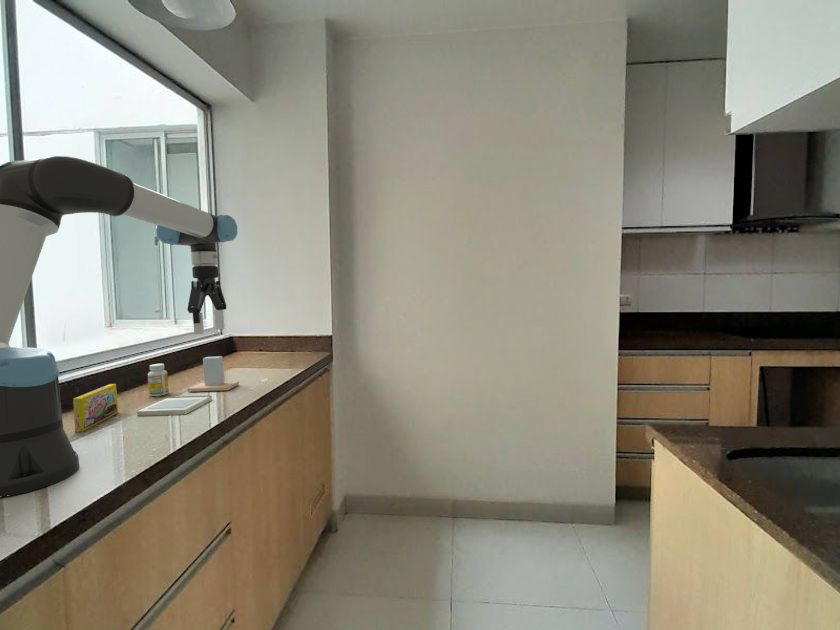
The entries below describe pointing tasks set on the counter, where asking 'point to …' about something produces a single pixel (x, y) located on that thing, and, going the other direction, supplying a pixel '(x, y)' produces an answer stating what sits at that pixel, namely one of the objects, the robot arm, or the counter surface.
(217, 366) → the stub
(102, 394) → the candy box
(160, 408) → the board
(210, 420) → the counter surface
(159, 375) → the supplement bottle
